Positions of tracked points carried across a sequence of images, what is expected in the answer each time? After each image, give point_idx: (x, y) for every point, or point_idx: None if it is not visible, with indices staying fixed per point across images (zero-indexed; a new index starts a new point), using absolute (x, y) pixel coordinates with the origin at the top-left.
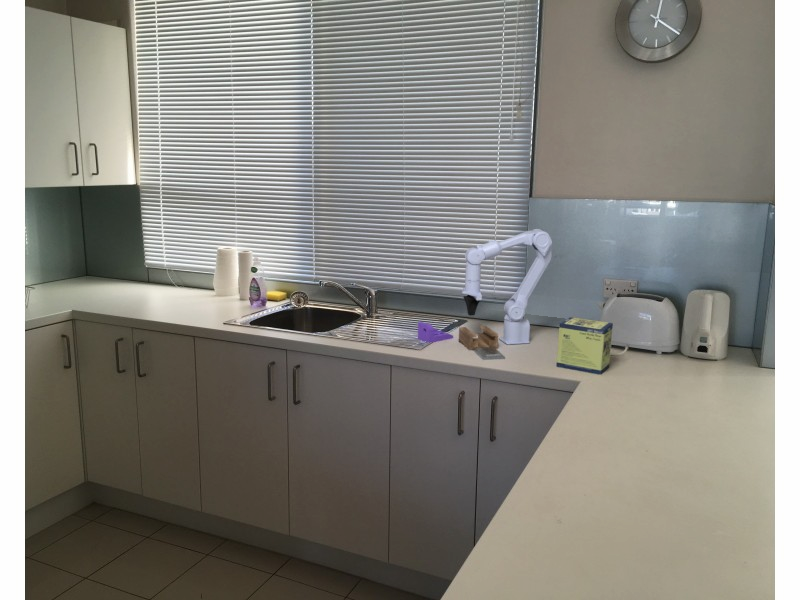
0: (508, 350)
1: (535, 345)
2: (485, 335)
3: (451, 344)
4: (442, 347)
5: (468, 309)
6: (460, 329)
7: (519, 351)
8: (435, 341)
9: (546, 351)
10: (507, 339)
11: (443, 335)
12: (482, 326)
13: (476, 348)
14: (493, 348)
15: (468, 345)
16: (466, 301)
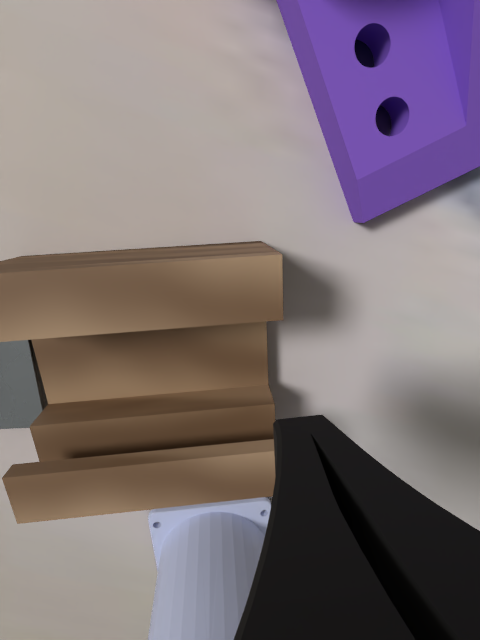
0: None
1: (132, 618)
2: (198, 435)
3: (190, 160)
4: (104, 46)
5: (302, 469)
6: (238, 255)
7: (13, 533)
8: (289, 33)
9: (20, 637)
10: (178, 535)
11: (334, 115)
12: None
13: None
14: (11, 417)
15: (30, 259)
16: (446, 621)
